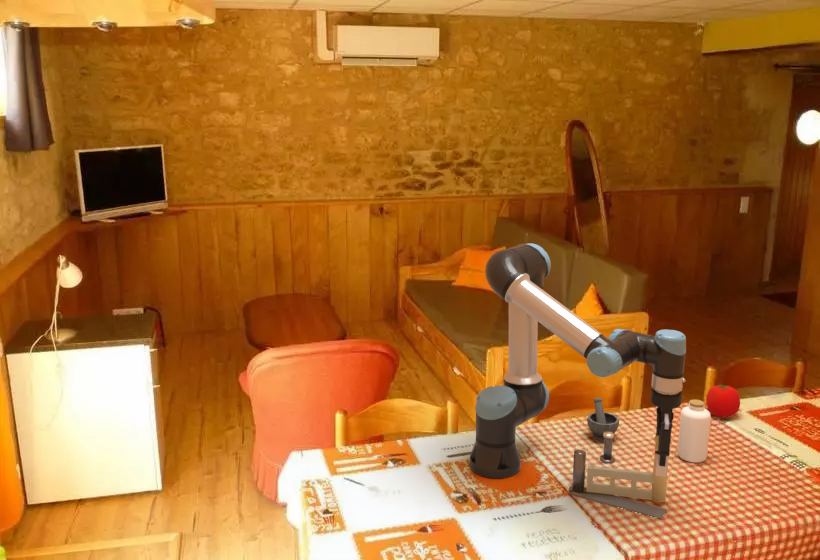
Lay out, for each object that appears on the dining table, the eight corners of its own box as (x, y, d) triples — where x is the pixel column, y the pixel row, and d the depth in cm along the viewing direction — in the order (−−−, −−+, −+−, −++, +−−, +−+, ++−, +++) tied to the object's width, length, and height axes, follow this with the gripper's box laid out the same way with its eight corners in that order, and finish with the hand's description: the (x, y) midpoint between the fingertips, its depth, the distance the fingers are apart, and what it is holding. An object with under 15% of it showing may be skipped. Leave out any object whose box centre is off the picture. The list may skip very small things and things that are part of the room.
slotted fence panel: (586, 494, 195) (589, 434, 191) (586, 486, 199) (589, 427, 195) (666, 504, 190) (672, 443, 186) (665, 496, 194) (670, 436, 189)
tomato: (744, 422, 239) (747, 392, 236) (712, 422, 239) (715, 392, 237) (730, 408, 249) (733, 380, 247) (700, 409, 249) (702, 380, 247)
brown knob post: (565, 493, 197) (567, 454, 194) (571, 485, 201) (573, 446, 198) (584, 498, 194) (586, 458, 192) (590, 490, 199) (592, 450, 196)
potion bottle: (676, 461, 214) (681, 405, 209) (677, 448, 221) (682, 395, 217) (706, 466, 211) (712, 409, 206) (706, 453, 218) (711, 398, 214)
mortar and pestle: (622, 443, 225) (624, 408, 222) (594, 446, 224) (596, 410, 221) (608, 428, 236) (610, 394, 233) (580, 430, 235) (582, 396, 232)
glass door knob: (597, 461, 214) (599, 435, 212) (602, 455, 218) (603, 429, 216) (612, 464, 212) (614, 438, 210) (616, 458, 216) (618, 432, 214)
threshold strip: (571, 495, 196) (571, 493, 196) (577, 486, 201) (577, 485, 200) (661, 519, 184) (661, 518, 184) (666, 510, 189) (666, 509, 188)
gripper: (685, 403, 176) (678, 489, 182) (678, 378, 192) (672, 458, 197) (653, 400, 178) (647, 485, 183) (649, 376, 193) (643, 455, 199)
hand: (660, 471), depth 190 cm, fingers closed on slotted fence panel, 4 cm apart
